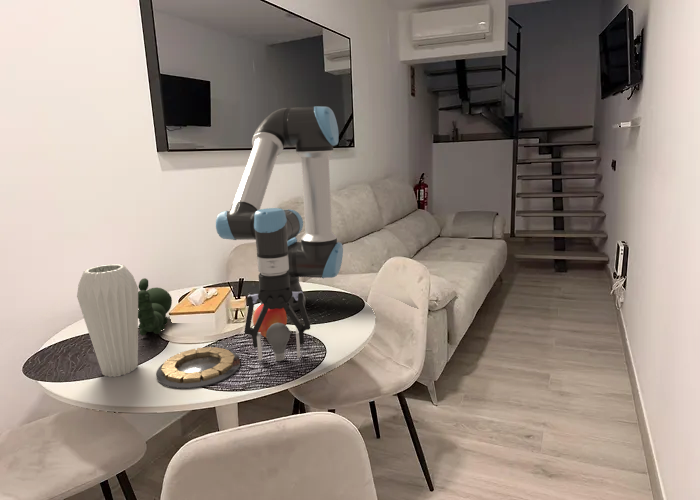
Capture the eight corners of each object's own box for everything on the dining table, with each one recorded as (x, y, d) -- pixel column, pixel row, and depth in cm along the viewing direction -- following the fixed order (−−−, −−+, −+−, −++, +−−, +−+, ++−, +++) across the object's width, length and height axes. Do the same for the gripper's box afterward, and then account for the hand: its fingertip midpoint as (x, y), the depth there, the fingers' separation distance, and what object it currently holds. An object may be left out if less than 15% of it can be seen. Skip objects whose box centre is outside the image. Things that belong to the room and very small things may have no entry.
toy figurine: (166, 345, 137) (177, 309, 160) (157, 284, 131) (169, 256, 155) (132, 349, 135) (147, 312, 158) (121, 287, 129) (138, 258, 153)
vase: (87, 387, 111) (69, 279, 105) (92, 364, 123) (76, 266, 117) (149, 375, 116) (134, 271, 110) (148, 353, 128) (135, 259, 122)
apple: (287, 328, 142) (285, 296, 140) (288, 341, 133) (286, 307, 131) (254, 331, 141) (251, 299, 138) (253, 344, 132) (251, 310, 129)
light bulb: (287, 366, 118) (284, 328, 116) (264, 364, 119) (261, 327, 117) (294, 355, 124) (292, 319, 122) (273, 354, 125) (270, 318, 123)
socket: (168, 354, 127) (167, 348, 127) (243, 348, 129) (243, 342, 129) (145, 392, 108) (144, 385, 108) (235, 384, 110) (234, 377, 110)
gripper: (226, 279, 112) (234, 366, 117) (318, 273, 114) (323, 359, 119) (230, 270, 119) (238, 353, 124) (317, 265, 121) (321, 347, 126)
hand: (279, 356), depth 122 cm, fingers open, 9 cm apart
